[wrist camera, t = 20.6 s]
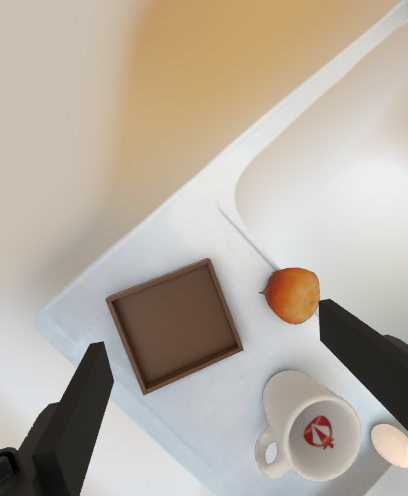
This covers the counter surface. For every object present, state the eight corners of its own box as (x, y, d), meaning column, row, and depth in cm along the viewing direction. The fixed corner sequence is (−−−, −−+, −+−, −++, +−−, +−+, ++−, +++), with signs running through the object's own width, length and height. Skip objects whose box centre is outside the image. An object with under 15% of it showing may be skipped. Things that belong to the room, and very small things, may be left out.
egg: (390, 416, 45) (429, 445, 38) (387, 445, 45) (425, 479, 38) (364, 415, 44) (400, 444, 37) (361, 445, 44) (396, 479, 37)
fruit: (263, 252, 40) (312, 265, 34) (289, 268, 45) (335, 283, 39) (242, 301, 40) (287, 325, 33) (270, 312, 44) (315, 334, 38)
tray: (144, 386, 39) (143, 395, 36) (108, 296, 38) (105, 299, 36) (239, 344, 41) (244, 350, 39) (206, 257, 40) (209, 258, 38)
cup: (267, 457, 41) (301, 525, 31) (223, 412, 40) (244, 467, 30) (327, 391, 43) (378, 435, 33) (287, 347, 42) (326, 378, 32)
